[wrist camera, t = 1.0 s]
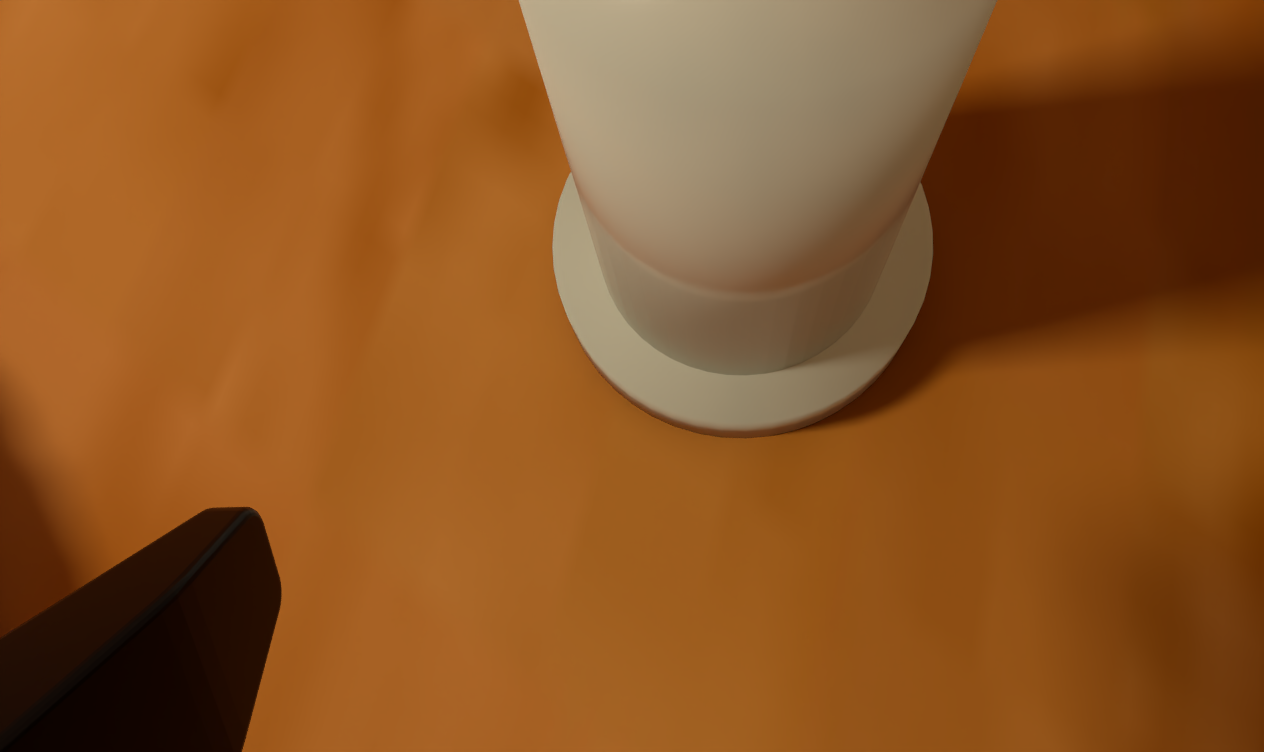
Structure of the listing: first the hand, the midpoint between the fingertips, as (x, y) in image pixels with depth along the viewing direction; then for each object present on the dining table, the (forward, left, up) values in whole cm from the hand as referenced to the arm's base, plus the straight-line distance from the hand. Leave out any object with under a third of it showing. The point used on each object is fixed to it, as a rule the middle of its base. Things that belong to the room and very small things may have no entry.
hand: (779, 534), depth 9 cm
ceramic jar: (+7, -3, -13) cm, 15 cm away
